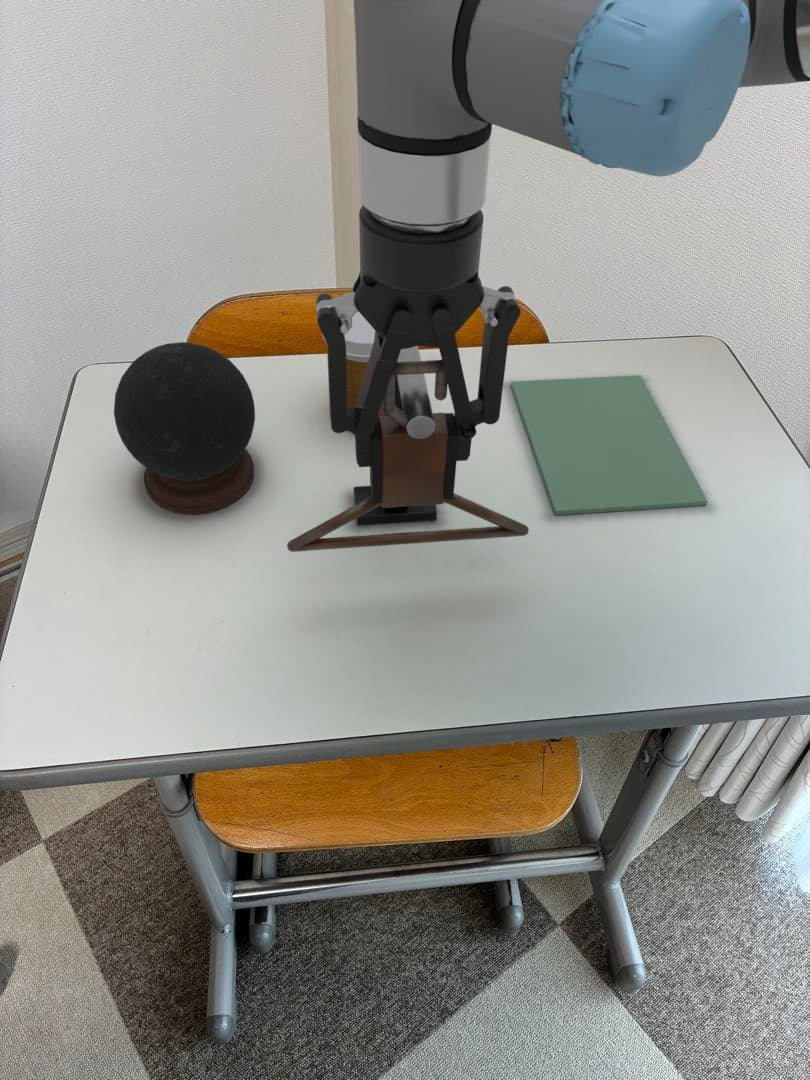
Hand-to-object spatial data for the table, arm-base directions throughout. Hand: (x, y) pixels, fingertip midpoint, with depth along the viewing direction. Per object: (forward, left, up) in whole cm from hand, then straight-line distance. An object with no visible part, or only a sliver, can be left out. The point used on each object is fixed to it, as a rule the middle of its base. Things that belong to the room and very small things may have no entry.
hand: (411, 489), depth 65 cm
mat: (-6, -30, -13) cm, 33 cm away
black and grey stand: (+3, -3, -13) cm, 13 cm away
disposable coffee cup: (+18, -19, -13) cm, 29 cm away
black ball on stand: (+26, 0, -13) cm, 29 cm away
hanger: (0, 0, -6) cm, 6 cm away
